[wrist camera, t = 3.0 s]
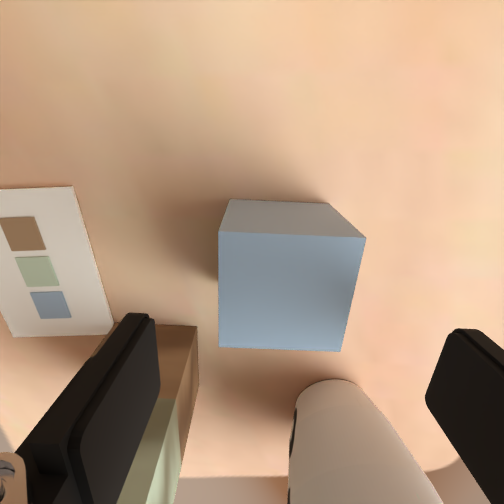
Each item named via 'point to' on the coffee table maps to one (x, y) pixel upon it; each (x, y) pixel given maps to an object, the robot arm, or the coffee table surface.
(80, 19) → the coffee table surface
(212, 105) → the coffee table surface
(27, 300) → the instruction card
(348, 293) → the blue brick
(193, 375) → the tower base
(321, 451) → the cup
